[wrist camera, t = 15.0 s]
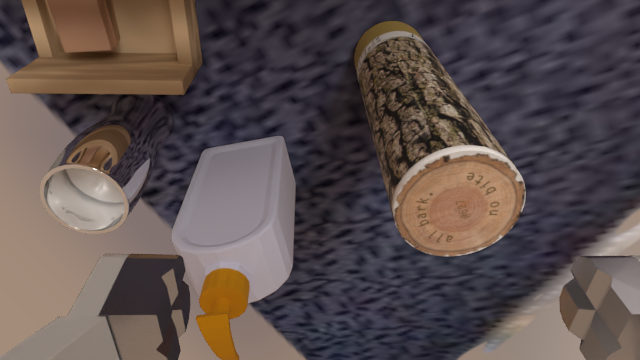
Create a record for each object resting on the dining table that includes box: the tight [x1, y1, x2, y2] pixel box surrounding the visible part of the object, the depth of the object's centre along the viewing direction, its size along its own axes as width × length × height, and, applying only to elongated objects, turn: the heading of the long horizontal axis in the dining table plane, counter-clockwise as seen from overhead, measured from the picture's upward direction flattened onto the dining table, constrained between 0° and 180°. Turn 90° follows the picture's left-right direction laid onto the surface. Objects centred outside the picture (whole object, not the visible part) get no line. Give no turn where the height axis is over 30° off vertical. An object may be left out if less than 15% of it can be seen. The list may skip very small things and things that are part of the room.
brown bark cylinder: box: [354, 21, 526, 256], centre depth 34 cm, size 7×7×25 cm
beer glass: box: [39, 94, 172, 234], centre depth 42 cm, size 7×7×15 cm
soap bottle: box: [171, 136, 296, 360], centre depth 42 cm, size 9×7×23 cm
